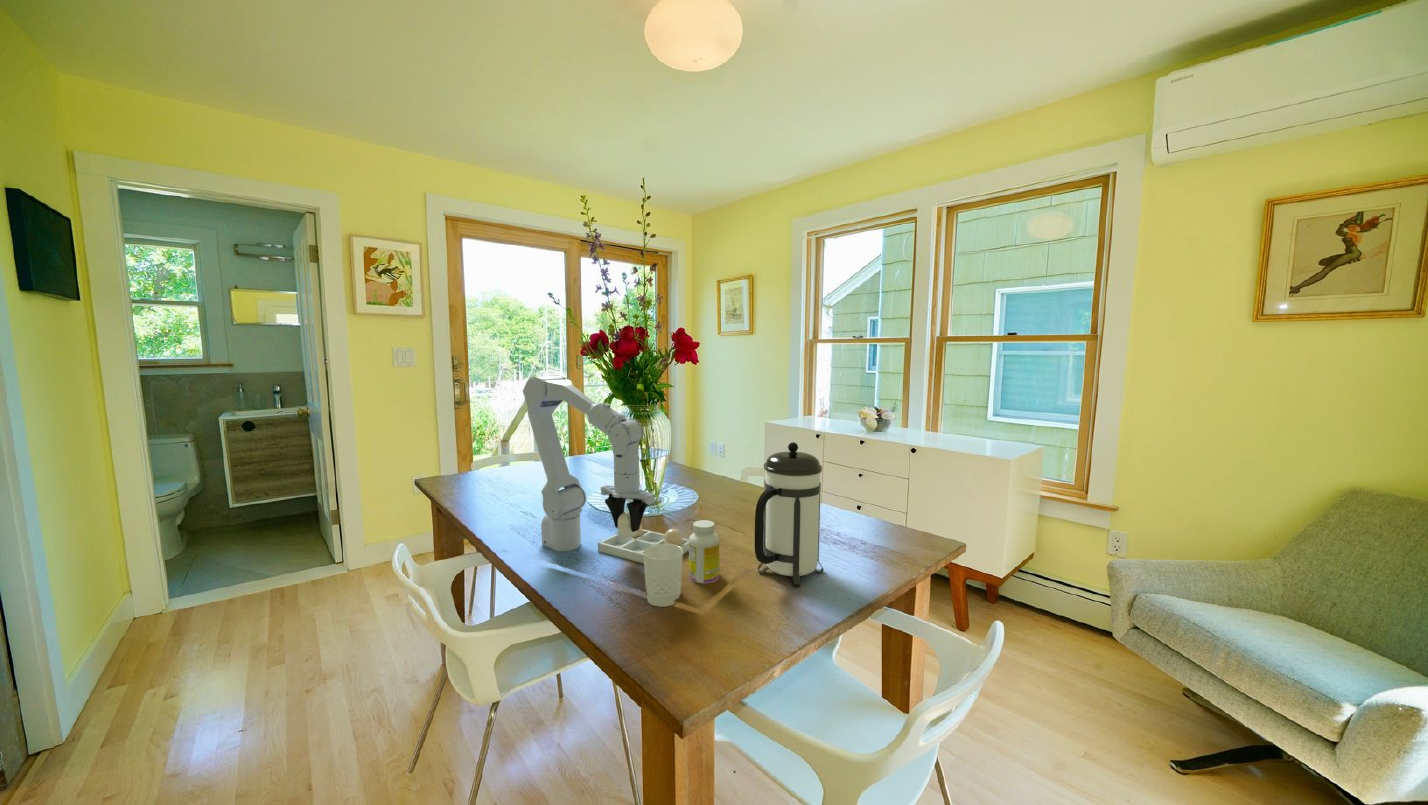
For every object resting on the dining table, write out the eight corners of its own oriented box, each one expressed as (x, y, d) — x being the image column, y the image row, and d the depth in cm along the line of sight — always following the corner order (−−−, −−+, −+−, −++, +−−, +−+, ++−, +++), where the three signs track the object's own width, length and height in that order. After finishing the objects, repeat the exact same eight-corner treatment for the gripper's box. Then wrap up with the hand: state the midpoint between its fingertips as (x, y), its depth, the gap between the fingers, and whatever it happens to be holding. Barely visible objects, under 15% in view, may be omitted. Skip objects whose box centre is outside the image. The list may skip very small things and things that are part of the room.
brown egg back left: (621, 541, 125) (621, 521, 124) (632, 536, 129) (632, 516, 128) (635, 545, 123) (634, 524, 122) (645, 539, 127) (645, 519, 126)
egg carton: (598, 554, 119) (597, 542, 119) (631, 537, 131) (631, 526, 130) (661, 572, 110) (661, 559, 110) (692, 552, 121) (692, 540, 121)
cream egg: (613, 535, 113) (613, 513, 113) (626, 529, 117) (625, 508, 116) (628, 539, 111) (627, 516, 110) (640, 533, 115) (640, 511, 114)
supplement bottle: (723, 576, 108) (723, 520, 107) (713, 589, 102) (713, 530, 101) (695, 571, 110) (695, 517, 109) (684, 584, 104) (684, 526, 103)
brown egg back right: (660, 551, 119) (660, 530, 118) (670, 545, 123) (670, 524, 122) (675, 555, 117) (675, 533, 116) (685, 549, 121) (685, 528, 120)
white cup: (677, 610, 93) (676, 561, 92) (638, 606, 95) (637, 557, 94) (687, 591, 101) (687, 545, 100) (651, 587, 103) (651, 542, 102)
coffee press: (752, 557, 118) (753, 436, 115) (818, 559, 117) (821, 437, 114) (753, 592, 101) (755, 450, 98) (831, 594, 100) (835, 451, 97)
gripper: (591, 471, 113) (592, 527, 114) (639, 479, 105) (640, 539, 107) (612, 465, 119) (612, 519, 120) (659, 473, 111) (659, 530, 113)
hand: (627, 528), depth 114 cm, fingers closed on cream egg, 4 cm apart
